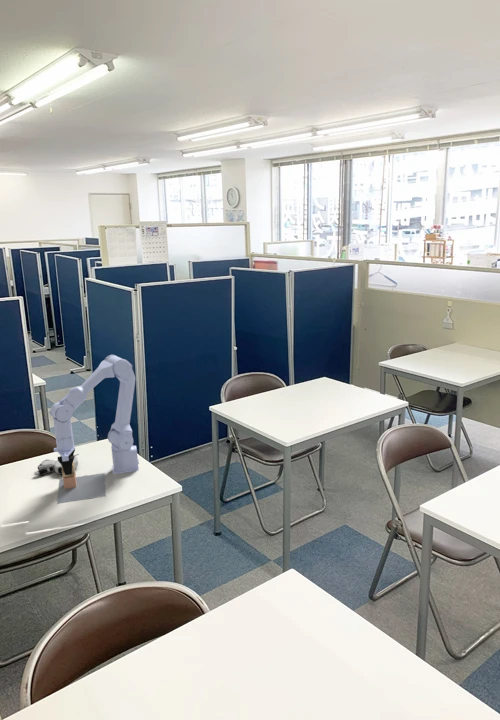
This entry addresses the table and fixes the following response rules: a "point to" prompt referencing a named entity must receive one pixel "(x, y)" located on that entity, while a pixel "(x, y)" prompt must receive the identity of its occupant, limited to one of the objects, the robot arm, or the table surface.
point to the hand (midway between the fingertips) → (68, 471)
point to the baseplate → (83, 488)
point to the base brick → (69, 482)
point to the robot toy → (52, 466)
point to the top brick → (72, 471)
